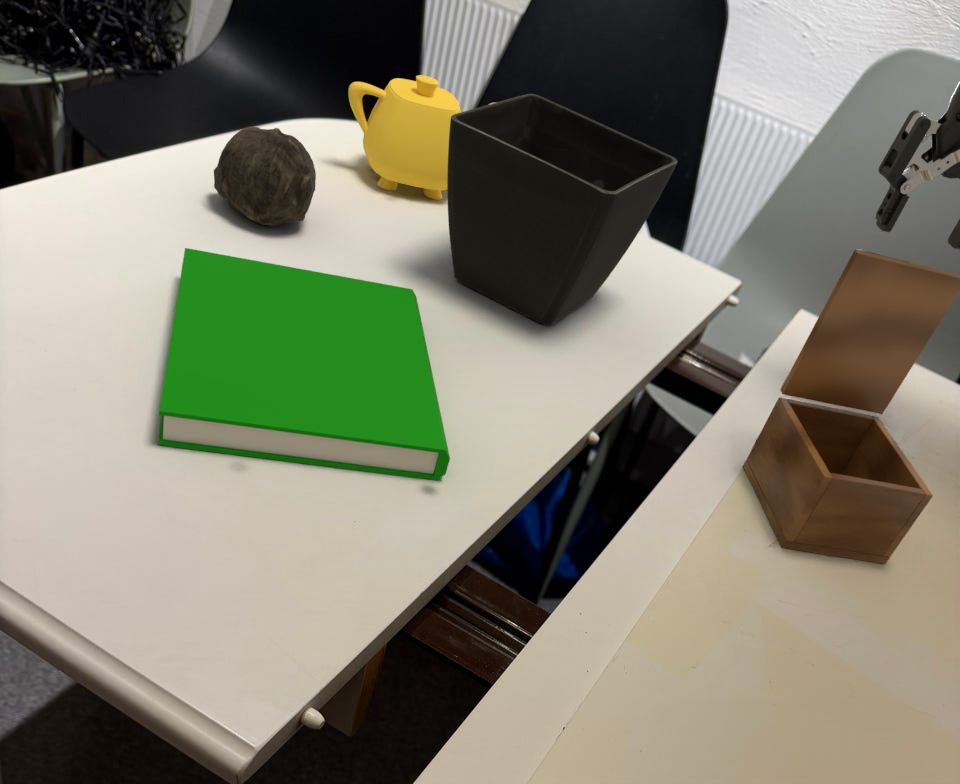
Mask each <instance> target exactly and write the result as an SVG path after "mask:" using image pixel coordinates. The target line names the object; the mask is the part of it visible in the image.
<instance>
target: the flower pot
mask: <svg viewBox="0 0 960 784" xmlns="http://www.w3.org/2000/svg"><path fill="white" fill-rule="evenodd" d="M492 103H493V104H491V103H488V104H485V105H483V106H479V107H477V108H472V109H469V110H468V109H467V110H464V111H461V113H458V114H454V115H452V116H451V121H450V132H449V148H448V175H447V190H446V191H447V192H446V193H447V195H446V196H447V219H448V220H447V221H448V232H449V233H448V234H449V244H450V252H451V262H452V268H453V275H454V278H455V279H456V280H457V282H460V283H461V284H464V285H466V286H467V287H469V288H471V289H473V290H475V291H477V292H478V293H481V294H483V295H484V296H486V297H488V298H490V299H492V300H494V301H496V302H498V303H500V304H502V305H504V306H505V307H507V308H510V309H511V310H514V311H515V312H517V313H519V314H521V315H523V316H524V317H527V318H529V319H531V320H533V321H535V322H537V323H539V324H540V325H545V326H551V325H553V324H555V323H557V322H558V321H559V320H561V319H562V318H564V317H565V316H567V315H568V314H570V313H572V312H573V311H575V310H576V309H577V308H579V307H580V306H582V305H583V304H585V303H586V302H589V301H590V300H591V299H593V297H594V296H595V295H596V294H597V293H598V291H599V290H600V289H601V287H602V286H603V285H604V284H605V282H606V281H607V279H608V278H609V277H610V275H611V274H612V272H613V271H614V270H615V268H616V267H617V265H618V264H619V263H620V261H621V260H622V258H623V257H624V256H625V254H626V253H627V251H628V250H629V248H630V247H631V245H632V243H634V240H635V239H636V237H637V236H638V234H639V232H640V231H641V229H642V227H643V226H644V224H645V223H646V221H647V219H648V218H649V216H650V214H651V212H652V211H653V209H654V208H655V206H656V204H657V202H658V200H659V199H660V197H661V195H662V193H663V191H664V190H665V187H666V186H667V184H668V182H669V180H670V178H671V176H672V174H673V173H674V170H675V168H676V166H677V164H678V160H677V158H675V157H674V156H673V155H670V154H668V153H665V152H664V151H662V150H660V149H657V148H655V147H653V146H651V145H648V144H646V143H644V142H642V141H640V140H638V139H635V138H633V137H632V136H629V135H627V134H625V133H623V132H620V131H618V130H616V129H614V128H611V127H610V126H607V125H605V124H603V123H601V122H598V121H596V120H594V119H592V118H590V117H587V116H585V115H583V114H581V113H578V112H577V111H574V110H572V109H570V108H567V107H566V106H563V105H561V104H558V103H557V102H554V101H552V100H550V99H548V98H545V97H543V96H542V95H541V96H540V95H538V94H534V93H527V94H522V95H518V96H515V97H511V98H508V99H504V100H501V101H497V103H495V102H492Z"/></svg>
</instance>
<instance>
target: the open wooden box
mask: <svg viewBox="0 0 960 784" xmlns="http://www.w3.org/2000/svg"><path fill="white" fill-rule="evenodd" d="M742 467H743V469H744V471H745V473H746V476H747V478H748V480H749V482H750V484H751V486H752V488H753V490H754V492H755V495H756V496H757V498H758V500H759V502H760V504H761V507H762V509H763V511H764V513H765V515H766V517H767V520H768V521H769V523H770V525H771V528H772V531H773V532H774V534H775V536H776V538H777V541H778V542H779V544H780V546H781V548H782V549H788V550H794V551H801V552H808V553H813V554H820V555H827V556H832V557H839V558H846V559H851V560H858V561H865V562H872V563H875V564H876V563H878V564H884V565H886V564H887V563H888V561H889V560H890V558H891V557H892V555H893V554H894V552H895V551H896V550H897V548H898V547H899V545H900V544H901V543H902V541H903V540H904V538H905V537H906V536H907V534H908V533H909V531H910V530H911V528H912V527H913V526H914V524H915V522H917V520H918V518H919V517H920V515H921V514H922V512H923V511H924V510H925V508H926V507H927V505H928V504H929V503H930V501H931V500H932V499H933V497H934V495H933V493H932V492H931V490H930V489H929V487H928V486H927V485H926V483H925V482H924V480H923V479H922V478H921V476H920V475H919V473H918V472H917V470H916V469H915V468H914V466H913V464H912V463H911V461H910V460H909V458H908V457H907V456H906V455H905V453H904V451H903V450H902V449H901V447H900V446H899V444H898V443H897V442H896V440H895V439H894V437H893V436H892V434H891V433H890V431H889V430H888V428H887V427H886V425H885V424H884V423H883V421H882V420H881V419H880V417H879V416H877V415H872V414H868V413H863V412H858V411H851V410H847V409H842V408H837V407H833V406H827V405H821V404H817V403H812V402H807V401H802V400H796V399H791V398H786V397H781V396H779V397H777V401H776V402H775V404H774V406H773V408H772V410H771V411H770V413H769V415H768V417H767V418H766V421H765V423H764V425H763V427H762V428H761V430H760V433H759V435H758V436H757V438H756V441H754V444H753V445H752V448H751V450H750V452H749V453H748V456H747V457H746V459H745V461H744V463H743V465H742Z"/></svg>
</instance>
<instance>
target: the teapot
mask: <svg viewBox="0 0 960 784" xmlns="http://www.w3.org/2000/svg"><path fill="white" fill-rule="evenodd" d="M439 85H440V82H439V81H438V80H437V79H435V78H434V77H431V76H428V75H425V74H419V75H416V76H415V80H413V79H412V80H411V79H406V78H400V77H395V78H392V79H391V80H390V81H389V82H388V84H387V85H386V86H385V88H384V89H382V88H380V87H377V86H375V85H372V84H370V83H367V82H364V81H353V82H352V83H350V84H349V86H348V93H347V94H348V101H349V105H350V109H351V110H352V112H353V115H354V118H355V119H356V122H357V123H358V125H359V127H360V129H361V131H362V133H363V136H362V137H363V138H362V147H363V151H364V154H365V157H366V160H367V162H368V165H369V166H370V167H371V169H372V170H373V172H375V173H376V174H377V175H378V176H380V178H379V179H378V181H377V183H376V185H377V186H378V187H379V188H381V189H384V190H387V191H396V190H397V188H398V185H399V184H402V185H407V186H410V187H415V188H420V189H423V195H424V196H425V197H427V198H429V199H432V200H435V201H436V200H439V201H440V200H443V195H442V194H443V193H442V191H447V175H448V148H449V132H450V121H451V116H452V115H454V114H458V113H461V112H462V109H461V106H460V103H459V101H458V99H457V98H456V96H455V95H454V94H453V93H451V91H448V90H446V89H445V88H442V87H440V86H439ZM365 95H370V96H374V97H376V98H378V99H377V101H376V103H375V105H374V106H373V108H372V110H371V112H370V114H369V117H368V119H366V116H365V111H364V106H363V97H364V96H365ZM497 102H498V101H497ZM497 102H491V103H490V104H493V103H497Z"/></svg>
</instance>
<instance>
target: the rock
mask: <svg viewBox="0 0 960 784" xmlns="http://www.w3.org/2000/svg"><path fill="white" fill-rule="evenodd" d="M315 168H316V167H315V164H314V160H313V159H312V157H311V154H310V153H309V151H308V150H307V149H306V147H305V146H304V145H303V143H302V142H301V141H299V139H298V138H296V137H295V136H293V135H291V134H286V133H283V132H282V131H281V129H280V128H278V127H274V128H271V129H265V128H260V127H258V126H254V125H253V126H248V127H244V128H242V129H240V130H239V131H238V132H236V133H235V134H234V135H233V136H232V137H231V138H230V139H229V140H228V141H227V142H226V144H225V146H224V148H223V149H222V151H221V153H220V156H219V159H218V162H217V166H216V167H214V169H213V182H214V183H213V188H214V189H215V190H216V192H217V193H218V194H219V195H220V196H221V197H222V198H223V199H224V200H226V202H227V203H228V205H230V206H231V207H232V208H233V209H234V210H236V211H238V212H240V213H241V214H242V215H244V216H245V217H247V218H248V219H249V220H251V221H253V222H255V223H257V224H260V225H263V226H273V227H279V226H282V225H283V224H286V223H293V222H303V221H304V220H305V219H306V214H307V213H308V211H309V209H310V207H311V204H312V200H313V197H314V193H315V191H316V179H317V173H316V169H315Z"/></svg>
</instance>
